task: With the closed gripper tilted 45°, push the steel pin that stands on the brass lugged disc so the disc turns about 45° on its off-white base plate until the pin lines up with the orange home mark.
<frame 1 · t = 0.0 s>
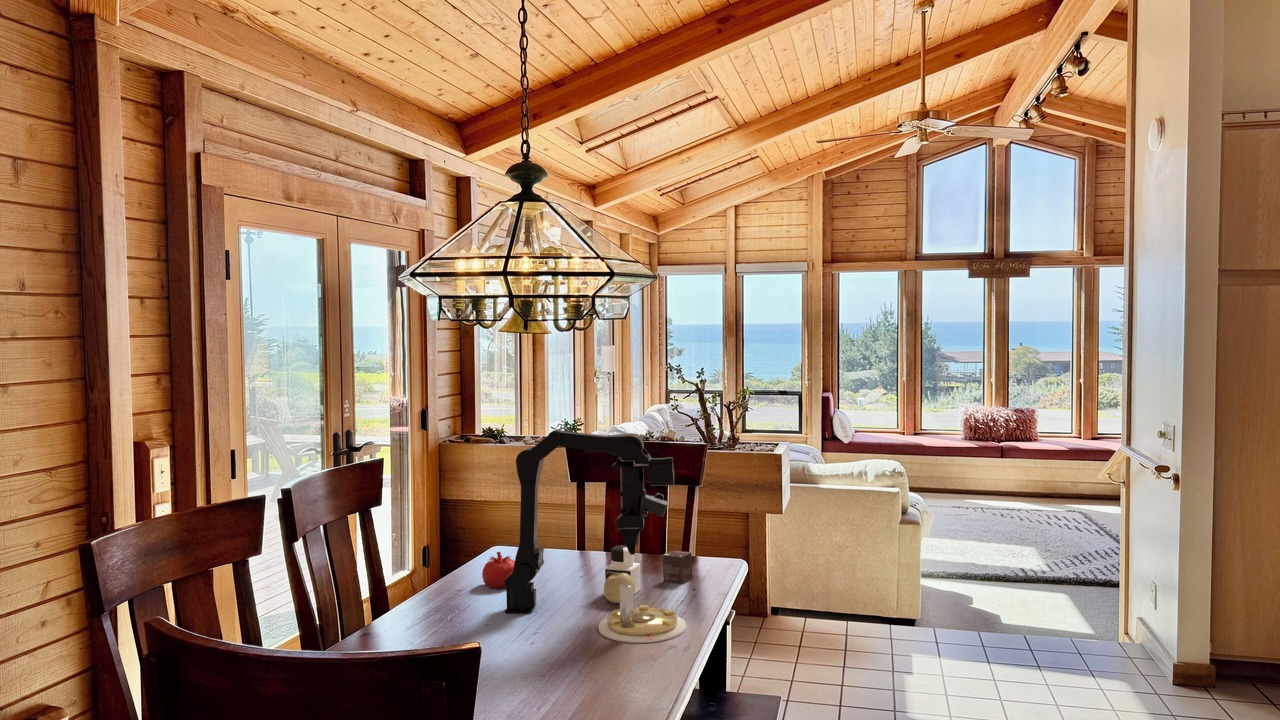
hand: (633, 549, 206), 15 cm above the table, tool pointing down, fingers open, 9 cm apart
base plate: (642, 627, 193), on the table
apple: (619, 602, 214), on the table
box: (677, 580, 232), on the table
pomegranate: (500, 586, 230), on the table
medicine bottle: (623, 593, 221), on the table
brass lugged disc: (641, 601, 193), point 6 cm above the table, hinge at 0.0°
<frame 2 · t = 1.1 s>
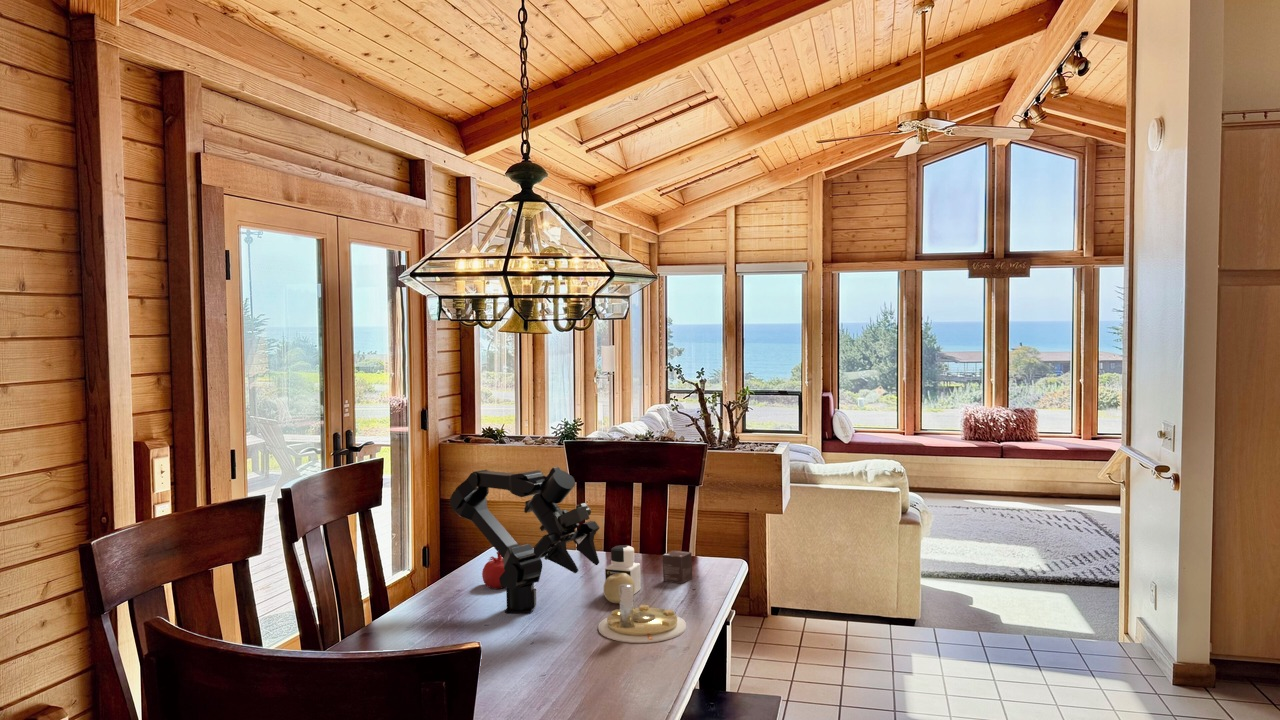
hand: (587, 568, 195), 13 cm above the table, tool tilted 45°, fingers open, 8 cm apart
nothing on the table moved.
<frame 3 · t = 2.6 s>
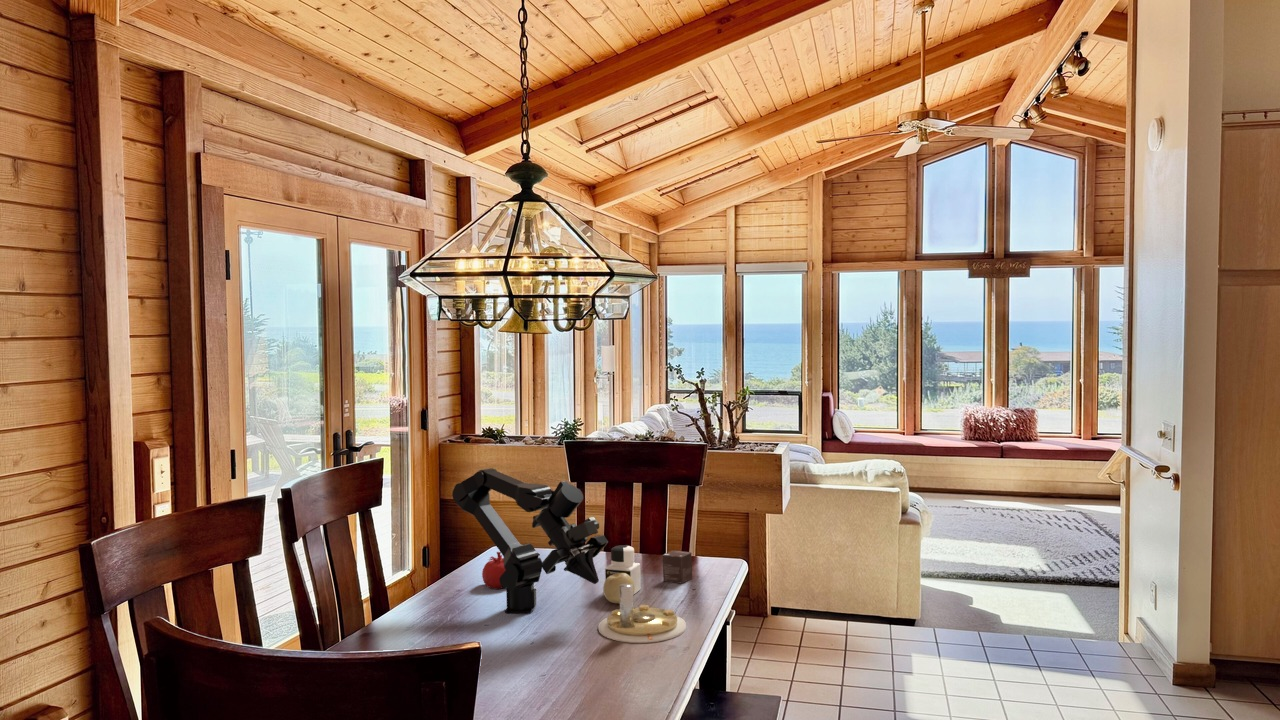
hand: (596, 582, 194), 10 cm above the table, tool tilted 45°, fingers closed
nothing on the table moved.
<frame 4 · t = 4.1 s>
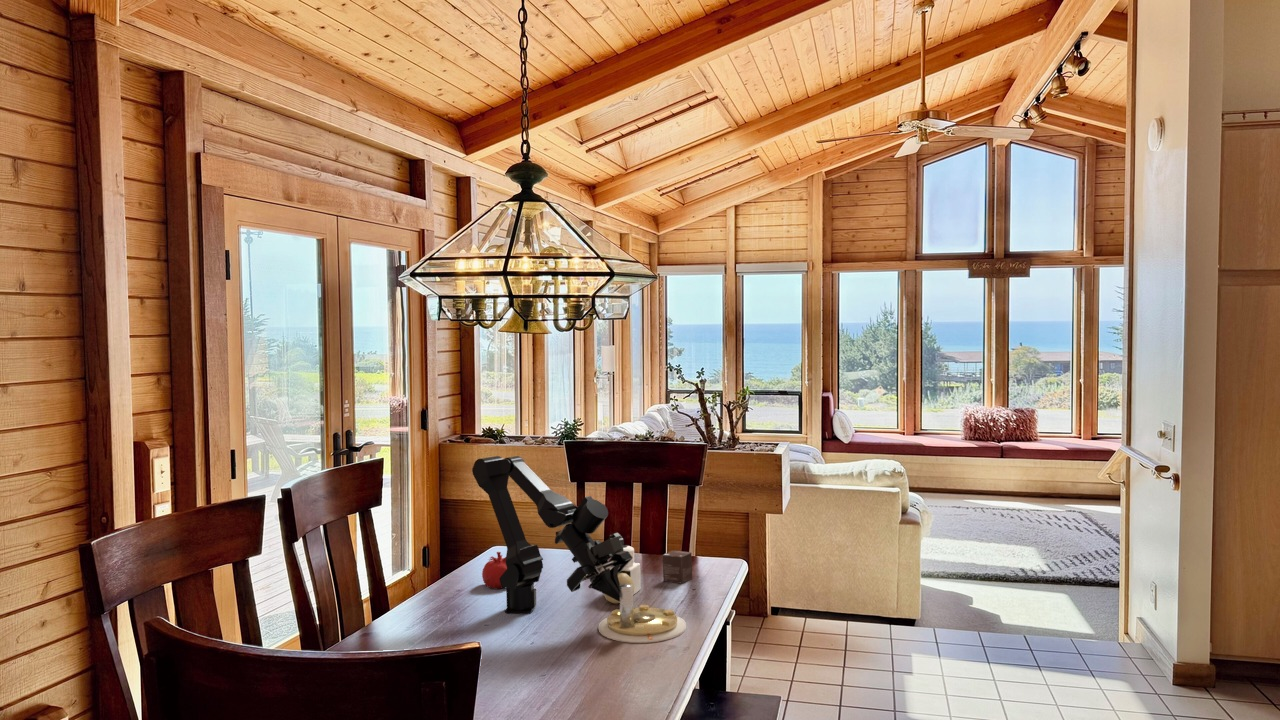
hand: (622, 600, 190), 7 cm above the table, tool tilted 45°, fingers closed
brass lugged disc: (641, 601, 193), point 6 cm above the table, hinge at 0.0°, touching gripper
everything else where it was.
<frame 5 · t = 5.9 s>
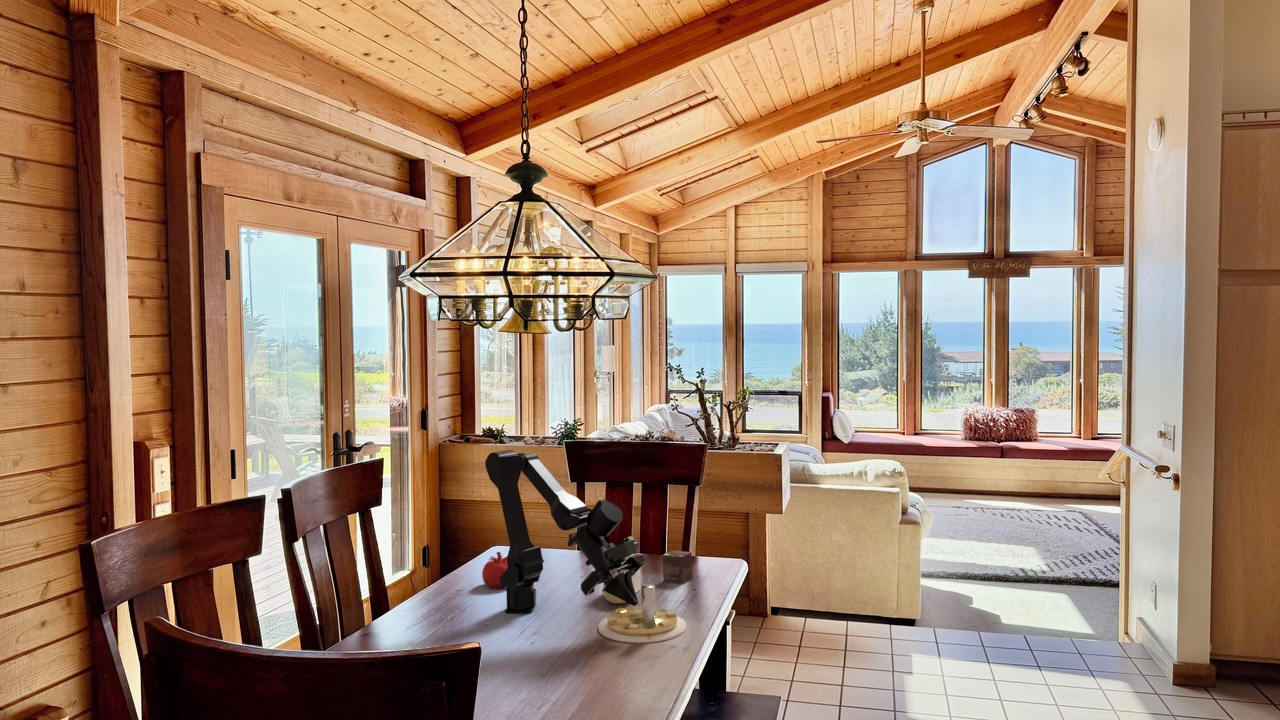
hand: (636, 604, 188), 7 cm above the table, tool tilted 45°, fingers closed
brass lugged disc: (641, 601, 193), point 6 cm above the table, hinge at 49.2°
everything else where it was.
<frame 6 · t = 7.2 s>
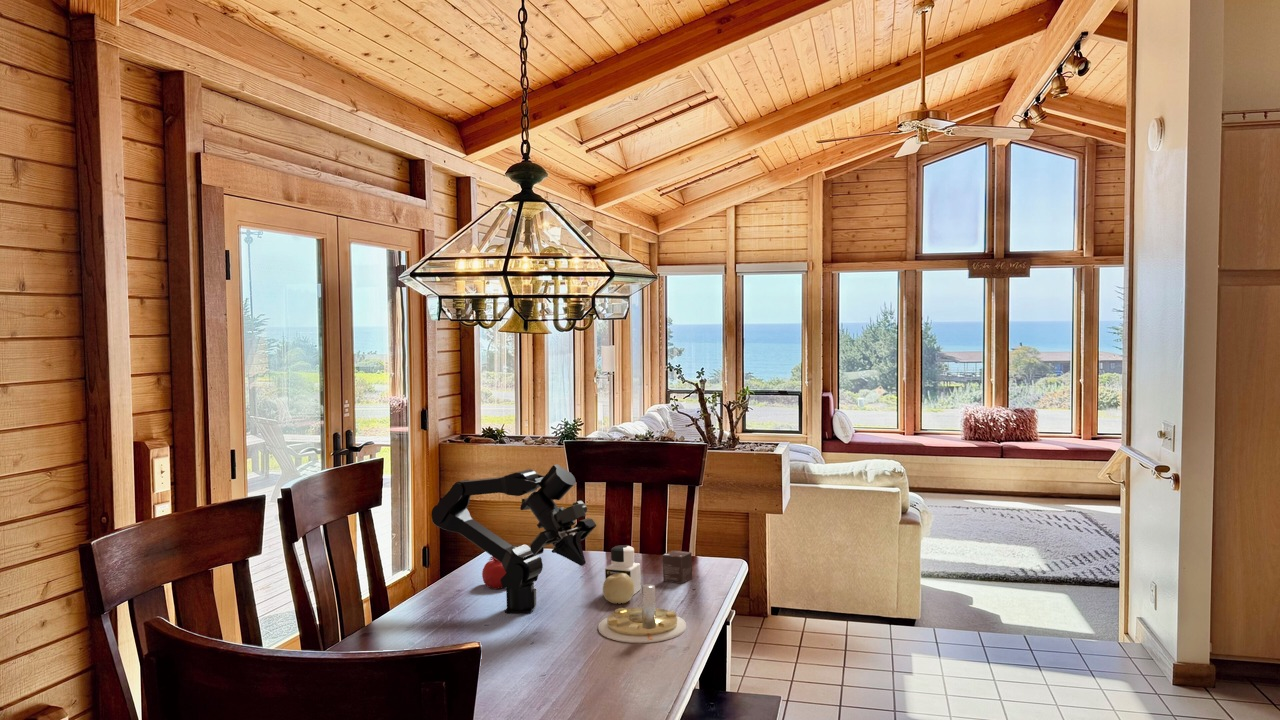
hand: (583, 564, 198), 13 cm above the table, tool tilted 45°, fingers closed
nothing on the table moved.
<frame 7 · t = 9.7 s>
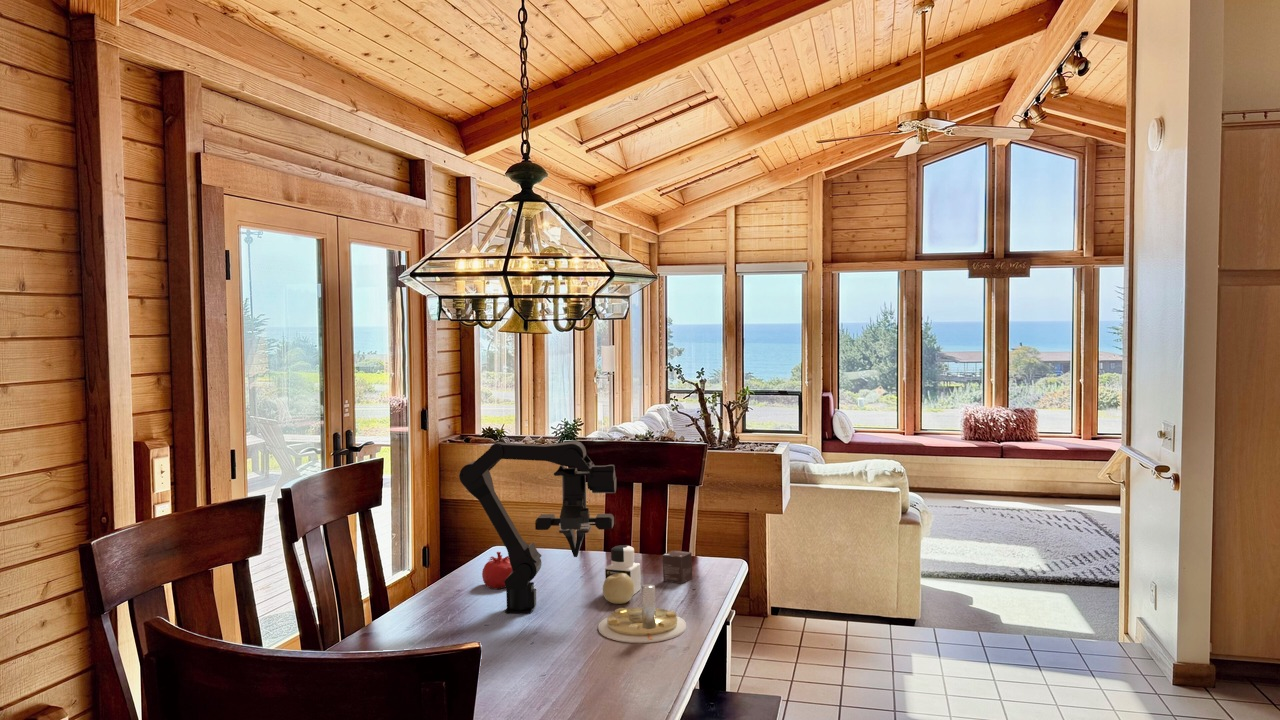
hand: (575, 556, 207), 13 cm above the table, tool pointing down, fingers closed
nothing on the table moved.
at the end: brass lugged disc at +49° (first picture: +0°) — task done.
